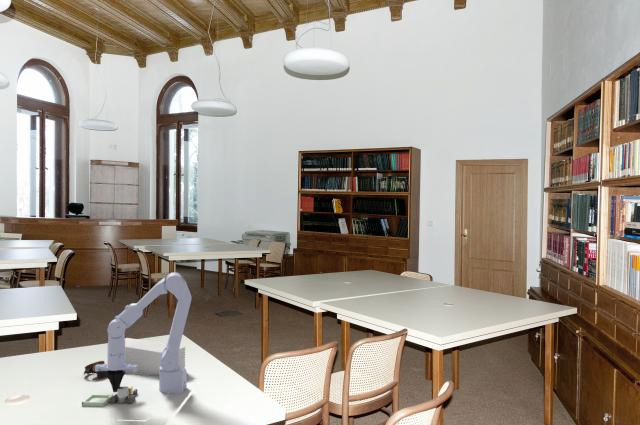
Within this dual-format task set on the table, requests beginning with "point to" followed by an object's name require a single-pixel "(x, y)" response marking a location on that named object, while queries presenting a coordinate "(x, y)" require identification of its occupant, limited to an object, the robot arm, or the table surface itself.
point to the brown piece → (91, 369)
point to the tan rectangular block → (129, 390)
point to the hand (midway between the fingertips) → (116, 391)
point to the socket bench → (129, 400)
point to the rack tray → (97, 400)
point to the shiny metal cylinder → (122, 395)
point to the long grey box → (147, 356)
